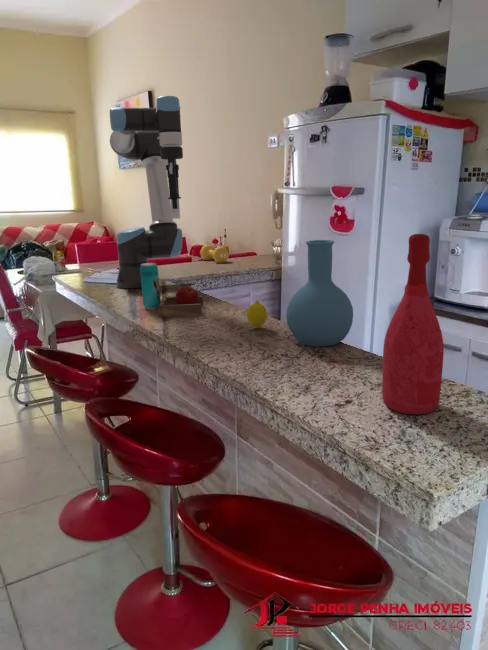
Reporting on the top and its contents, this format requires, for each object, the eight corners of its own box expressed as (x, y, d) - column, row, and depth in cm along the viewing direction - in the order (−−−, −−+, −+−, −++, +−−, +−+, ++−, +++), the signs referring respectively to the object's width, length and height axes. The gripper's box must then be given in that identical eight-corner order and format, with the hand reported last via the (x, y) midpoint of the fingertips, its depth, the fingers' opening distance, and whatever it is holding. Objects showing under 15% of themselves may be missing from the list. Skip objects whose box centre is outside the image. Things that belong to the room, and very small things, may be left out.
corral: (164, 307, 170) (163, 297, 169) (203, 305, 170) (202, 295, 169) (159, 317, 157) (158, 306, 156) (201, 315, 157) (200, 304, 156)
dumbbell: (230, 262, 266) (230, 246, 264) (215, 264, 262) (214, 248, 259) (213, 258, 282) (213, 243, 279) (199, 260, 277) (198, 245, 275)
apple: (175, 313, 161) (173, 289, 158) (176, 307, 168) (175, 284, 166) (199, 312, 161) (197, 287, 159) (199, 306, 169) (198, 283, 167)
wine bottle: (416, 423, 83) (427, 238, 75) (369, 404, 90) (375, 234, 82) (451, 406, 88) (465, 233, 80) (404, 390, 96) (412, 230, 88)
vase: (360, 335, 131) (363, 238, 124) (342, 354, 117) (343, 246, 110) (300, 329, 138) (300, 237, 132) (276, 346, 124) (274, 244, 118)
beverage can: (157, 310, 166) (153, 265, 162) (141, 310, 167) (136, 265, 163) (163, 306, 171) (160, 262, 167) (147, 306, 172) (143, 262, 168)
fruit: (244, 327, 142) (243, 299, 140) (262, 324, 144) (261, 297, 142) (251, 332, 137) (251, 303, 135) (270, 329, 139) (269, 301, 137)
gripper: (162, 148, 175) (167, 217, 181) (157, 145, 163) (162, 220, 169) (183, 147, 175) (188, 216, 181) (180, 144, 163) (185, 219, 169)
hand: (176, 218), depth 175 cm, fingers closed
